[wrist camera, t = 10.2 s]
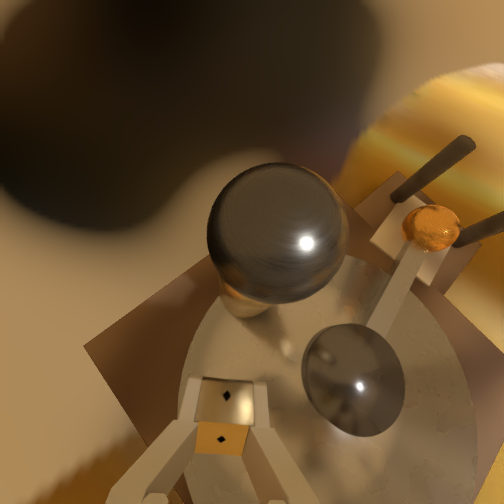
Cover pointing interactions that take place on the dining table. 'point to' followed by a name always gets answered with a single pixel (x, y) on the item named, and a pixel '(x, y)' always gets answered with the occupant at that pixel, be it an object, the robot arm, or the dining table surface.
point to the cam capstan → (332, 349)
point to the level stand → (359, 246)
